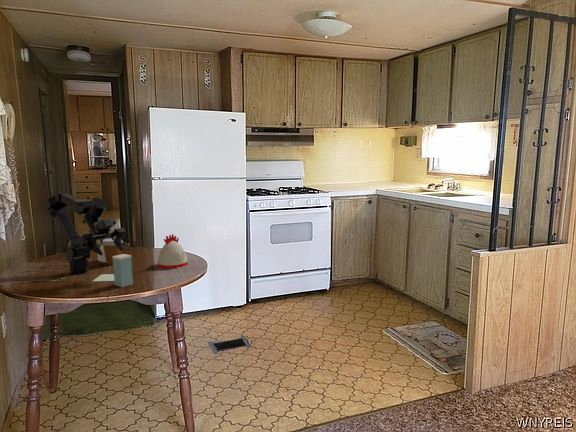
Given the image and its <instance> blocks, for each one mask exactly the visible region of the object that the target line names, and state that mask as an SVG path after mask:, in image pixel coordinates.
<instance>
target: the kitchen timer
mask: <svg viewBox="0 0 576 432" xmlns="http://www.w3.org/2000/svg"><path fill="white" fill-rule="evenodd" d="M168 235H169V236H168ZM168 235H166V236H165V238H163V242H164V243H165V244H164V245H163V246H162V247H161V250H160V251H159V253H158V258H157V267H158V268H159V267H160V268H159V269H163V268H175V269H178V268H177V267H181V268H183V267H182V266H184V267H186V266H188V265H189V264H188V263H189V261H188V256H187V254H186V251H185V249H184V247H183V246H182V245H181V244H180V243H179V239H180V237H177V236H176V235H174V234H168ZM185 265H186V266H185Z"/></svg>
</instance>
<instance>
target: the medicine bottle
mask: <svg viewBox="0 0 576 432" xmlns="http://www.w3.org/2000/svg"><path fill="white" fill-rule="evenodd" d="M103 240H104V239H102V240H99V241H100V246H99V248H100V249H101V251H102V253H103V255H102V256H101V255H99V254H97V261H98V262H101V263H106V264H107V261H106V257H105V252H104V247H103V245H102V241H103Z"/></svg>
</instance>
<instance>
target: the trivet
mask: <svg viewBox="0 0 576 432" xmlns="http://www.w3.org/2000/svg"><path fill="white" fill-rule="evenodd" d="M91 282H115V281H114V273H110V274H109V273H107V274H105V273H103V274H100V275H98V276H97V277H95V279H93V280H91Z"/></svg>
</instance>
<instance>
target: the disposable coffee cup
mask: <svg viewBox="0 0 576 432" xmlns="http://www.w3.org/2000/svg"><path fill="white" fill-rule="evenodd" d="M113 242H114V241H113V240H112V239H111V238H108V239H104V240H103V241H102V245H103V247H104V252H105V257H106V261H107V263H106V265H108V266H113V258H112V256H116V255H121V254H122V251H120V250H119V249H118V247H117V246H116V245H115V244H114V243H113ZM123 242H124V241H123V240H122V243H123Z"/></svg>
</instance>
